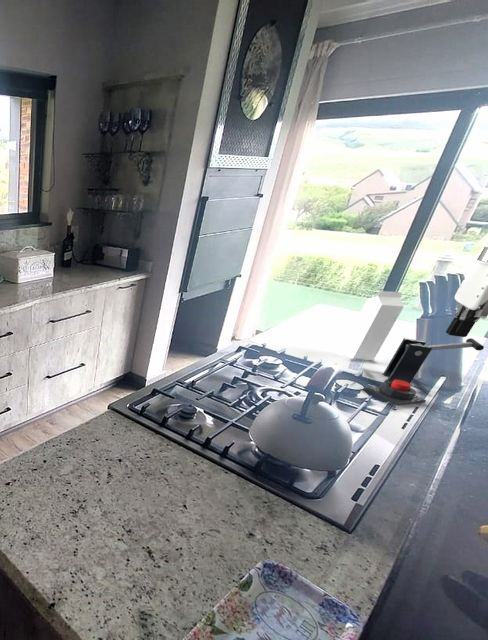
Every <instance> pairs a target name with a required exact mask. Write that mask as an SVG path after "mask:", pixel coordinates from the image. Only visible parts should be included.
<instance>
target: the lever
mask: <svg viewBox="0 0 488 640" xmlns="http://www.w3.org/2000/svg"><path fill="white" fill-rule="evenodd" d="M415 344H416V345H422V344H421V343H415ZM408 345H409V344H406V348H407V347H408ZM422 346H423V345H422ZM427 346H428V347H431V348H432V350H431V351H439V350H440V351H441V350H453V349H467V348H472V349H474V350H475V351H477V352H478V351H482V350H484V348H485V347H484V345H483V344H481V343H480V342H478V341H477V340H475V339H474V338H467V339H466V340H465V342H457V343H456V342H455V343H442V344H432V345H427Z"/></svg>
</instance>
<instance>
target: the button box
mask: <svg viewBox="0 0 488 640" xmlns="http://www.w3.org/2000/svg"><path fill="white" fill-rule="evenodd" d="M391 384H392V382H391V381H387V380H386V381H384V382H383V383H382V385H374V386H372V385H371V386H366V388H365V390H366V391H368V392H369V393H372V394H373V395H375V396H376V397H379V398H381V399H384V400H385V401H387V402H389V403H391V404H393V405H395V406H398V407H399V406H407V405H409V406H410V405H415V404H416V405H417V404H424V403H426V402H427V399H425V398H423V397H421V396H418V395H416V394H417V391H416V390H415V389H414V388H413V387H412V386H411V387H410V388H409V390H408V391H407V392H406V391H400V390H397V389H395V388H393V387H391ZM390 409H392V410H393V411H398V409H397V408H392V407H391V408H390Z"/></svg>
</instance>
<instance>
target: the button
mask: <svg viewBox="0 0 488 640" xmlns="http://www.w3.org/2000/svg"><path fill="white" fill-rule="evenodd" d="M391 387H393V388H395V389H397V390H400V391H406V392H407V391H408V390H409V388H410V387H411V388H412V384H411V383H410V384H409V383H408V382H405V381H402V380H394V381H393V382H392V384H391Z"/></svg>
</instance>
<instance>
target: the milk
mask: <svg viewBox="0 0 488 640" xmlns="http://www.w3.org/2000/svg"><path fill="white" fill-rule="evenodd" d="M402 294H403V293H402V292H398V291H387V290H386V291H385V290H381V291H379V292H378V294H377V295H375V296H372V297H367V299H366V301H365V303H364V305H363V307H362V308H361V311H360V312H359V314H358V317H357V318H356V320H355V322H354V324H353V327H352V328H351V330H350V332H349V334H348V336H347V338H346V340H345V342H344V344H343V346H342V347H341V350H340V351H341V352H342V353H344V354H345V355H347V356H348V357H349V358H351V359H353V360H363V361H364V360H365V361H375V359H376V357H377V355H378V353H379V351H380V349H381V348H382V346H383V344H384V343H385V341H386V339H387V337H388V336H389V334H390V332H391V331H392V329H393V327H394V326H395V323H396V322H397V319H398V318H399V316H400V314H401V313H402V311H403V309H404V307H405V305H404V304H403V301H402V300H401V296H402Z"/></svg>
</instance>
